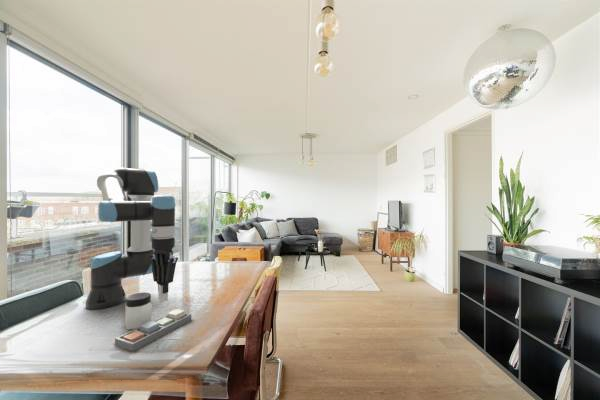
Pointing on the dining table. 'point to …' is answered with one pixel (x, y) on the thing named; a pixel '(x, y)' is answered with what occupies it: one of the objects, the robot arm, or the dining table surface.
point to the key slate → (149, 327)
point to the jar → (138, 310)
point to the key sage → (165, 321)
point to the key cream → (176, 314)
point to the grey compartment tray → (152, 334)
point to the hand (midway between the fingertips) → (163, 301)
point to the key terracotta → (134, 336)
